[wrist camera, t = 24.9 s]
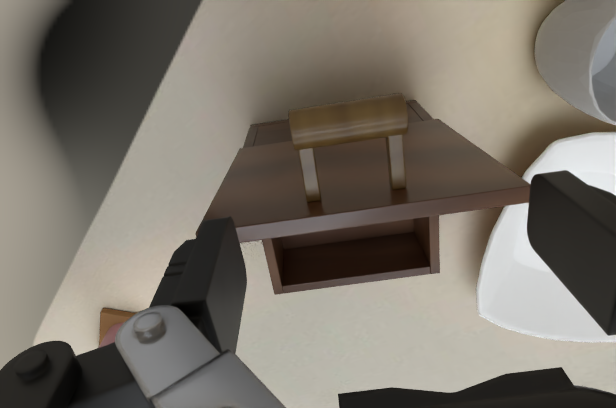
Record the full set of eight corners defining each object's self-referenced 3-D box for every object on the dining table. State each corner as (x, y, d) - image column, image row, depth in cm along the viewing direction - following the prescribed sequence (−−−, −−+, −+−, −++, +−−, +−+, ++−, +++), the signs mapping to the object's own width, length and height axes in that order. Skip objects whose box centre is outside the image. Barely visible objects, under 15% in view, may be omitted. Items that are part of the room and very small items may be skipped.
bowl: (735, 138, 41) (792, 158, 36) (621, 319, 51) (654, 354, 46) (513, 97, 39) (543, 114, 34) (438, 294, 48) (453, 328, 44)
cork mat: (101, 350, 51) (98, 355, 51) (103, 307, 48) (100, 312, 48) (157, 359, 52) (155, 364, 51) (163, 317, 49) (161, 322, 49)
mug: (641, 59, 38) (747, 84, 29) (537, 114, 40) (607, 153, 31) (602, -96, 33) (716, -123, 24) (486, -24, 35) (551, -25, 26)
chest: (420, 233, 45) (439, 273, 39) (277, 252, 46) (274, 294, 40) (415, 99, 39) (437, 122, 33) (250, 124, 40) (241, 151, 34)
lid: (532, 202, 19) (536, 81, 17) (199, 248, 20) (169, 137, 18) (439, 129, 33) (435, 56, 31) (241, 158, 33) (227, 89, 31)
